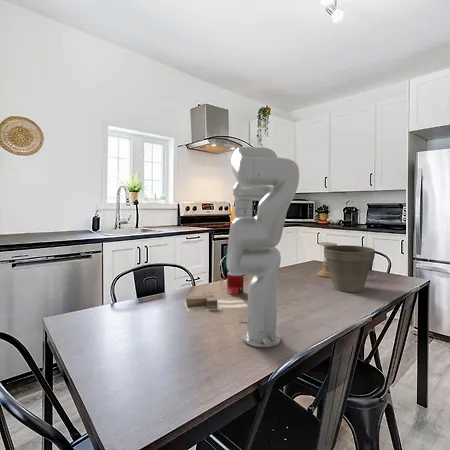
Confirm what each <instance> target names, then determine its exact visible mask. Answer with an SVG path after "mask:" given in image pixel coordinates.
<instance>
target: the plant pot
mask: <svg viewBox="0 0 450 450" xmlns="http://www.w3.org/2000/svg"><path fill="white" fill-rule="evenodd" d="M375 255H376V249H374V248H372V247H369V246H361V245H350V244H349V245H347V244H346V245H343V244H342V245H340V244H339V245H338V244H337V245H335V246H327V247H324V246H323V258H324V257H325V258H326V260H327V265H328V269H329V272H330V276H331V278H330V280H331V283H332V286H333V289H334V290H337V291H340V292H343V291H344V292H345V293H360V292H362V291H363V290H364V289H365V285H366V282H367V279H368V275H369V273H370V269H371V266H372V261H374V260H375Z"/></svg>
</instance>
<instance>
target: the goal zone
mask: <svg viewBox="0 0 450 450" xmlns="http://www.w3.org/2000/svg"><path fill="white" fill-rule="evenodd" d="M184 305H185V306H184V307H186V310H187V309H190V308H204V307H206V306H202V307H188V308H187V305H186V304H185V303H184ZM206 309H207V307H206ZM219 310H223V309H221V308H220V306H219V305H218V303H217V309H207V311H219ZM207 311H206V312H207Z"/></svg>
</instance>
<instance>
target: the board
mask: <svg viewBox="0 0 450 450" xmlns="http://www.w3.org/2000/svg"><path fill="white" fill-rule="evenodd" d="M216 299H217V303H218V305H219V306H220V308H221V309H222V310H233V309H245V308H247V309H248V303H246V302H245V301H244V300H243V299H242V298H241V297H227V298H216ZM183 303H184V305H185V304H186V300H184V301H183ZM186 311H187V313H194V312H207V309H206V307H204V308H190V309H186Z"/></svg>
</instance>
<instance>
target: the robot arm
mask: <svg viewBox="0 0 450 450" xmlns="http://www.w3.org/2000/svg"><path fill="white" fill-rule="evenodd" d="M230 163H231V165H230V166H231V171H232V173H233V175H234V176H235V177H234V178H235V179H236V183H235V184H234V186H233V188H232V189H233V190H232V192H233V193H232V194H233V197H234V217H235V218H234V219H233V220H232V222H231V224H230V227H229V233H228V239H227V240H228V241H227V249H226V250H227V251H226V263H225V264H226V269H227V272H230V273H231V274H234V275H246V276H247V275H250V276H251V275H253V277H252V278H251V280H250V281H249V284H248V286H247V305H248V308H247V319H246V320H247V325H246V327H247V328H246V329H247V330H245V331H244V332H243V333H242V341H243V342H244V343H245V344H247V345H250V346H252V347H254V348H255V347H256V348H273V347H275V346H277V345H279V344H280V343H281V341H282V340H281V339H282V336H281V335H280V334H279V333H278V332H277V313H278V311H277V306H278V303H277V302H278V299H277V298H278V279H279V272H280V266H281V252H280V250H279V249H278V247H277V246H278V244H279V243H281V242H280V241H281V239H282V235H283V231H284V226H285V222H286V217H287V213H288V210H289V207H290V205H291V203H292V201H293V200H294V198H295V195H296V194H297V193H296V192H297V190H298V187H299V182H300V169H299V166H298V164H297V163H296V162H295V161H294V160H293V159H290V158H285V157H278V154H277V153H276V152H275V151H274V150H273V149H271V148H269V147H256V146H255V147H251V146H241V147H237V148H236V149H235V150H234V152H233V154H232V156H231V162H230ZM253 201H258V202H259V203H258V205H257V211H256V215H255V216H253Z"/></svg>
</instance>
